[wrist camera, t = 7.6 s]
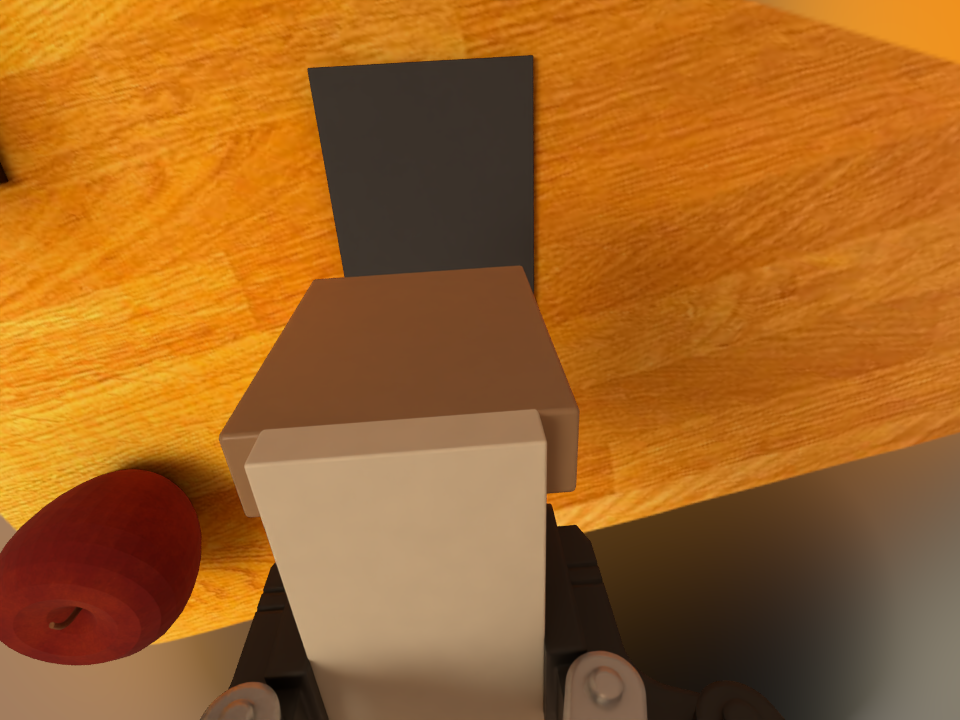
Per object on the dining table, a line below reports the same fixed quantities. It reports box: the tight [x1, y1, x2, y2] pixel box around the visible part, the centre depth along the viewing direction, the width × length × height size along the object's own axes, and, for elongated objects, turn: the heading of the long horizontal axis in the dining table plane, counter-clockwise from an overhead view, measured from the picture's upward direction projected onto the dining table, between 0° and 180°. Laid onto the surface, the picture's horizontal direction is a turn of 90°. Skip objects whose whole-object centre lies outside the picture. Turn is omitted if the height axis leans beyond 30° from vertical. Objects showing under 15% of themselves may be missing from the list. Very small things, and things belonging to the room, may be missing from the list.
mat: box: [308, 55, 534, 295], centre depth 29 cm, size 20×10×1 cm, turn 3°
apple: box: [0, 469, 201, 665], centre depth 31 cm, size 10×10×10 cm
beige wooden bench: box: [219, 265, 579, 720], centre depth 13 cm, size 11×5×7 cm, turn 3°
